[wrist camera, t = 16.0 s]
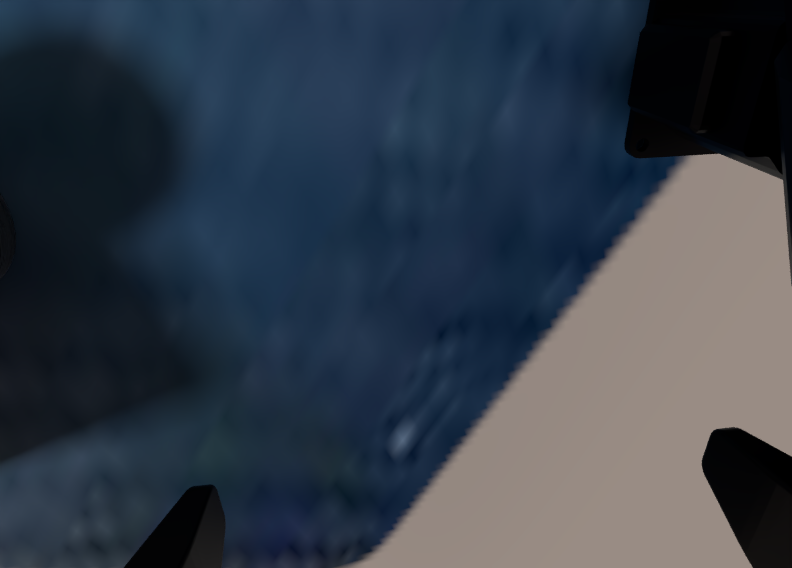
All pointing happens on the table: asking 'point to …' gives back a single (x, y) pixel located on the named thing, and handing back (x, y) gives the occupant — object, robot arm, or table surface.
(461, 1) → the table surface
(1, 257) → the tin
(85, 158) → the table surface
